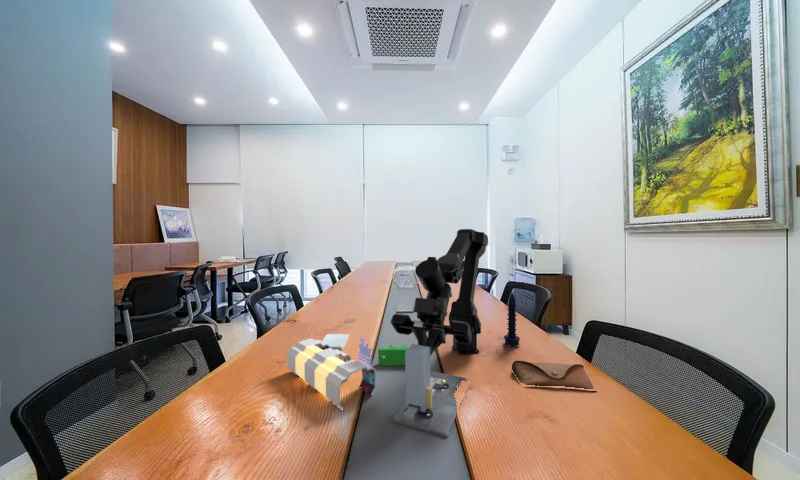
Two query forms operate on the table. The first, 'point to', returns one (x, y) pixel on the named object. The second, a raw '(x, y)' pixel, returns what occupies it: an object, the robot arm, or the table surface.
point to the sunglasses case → (551, 374)
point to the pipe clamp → (392, 355)
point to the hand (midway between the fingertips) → (421, 363)
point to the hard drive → (336, 340)
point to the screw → (512, 323)
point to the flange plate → (434, 407)
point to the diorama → (330, 367)
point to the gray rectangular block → (418, 377)
